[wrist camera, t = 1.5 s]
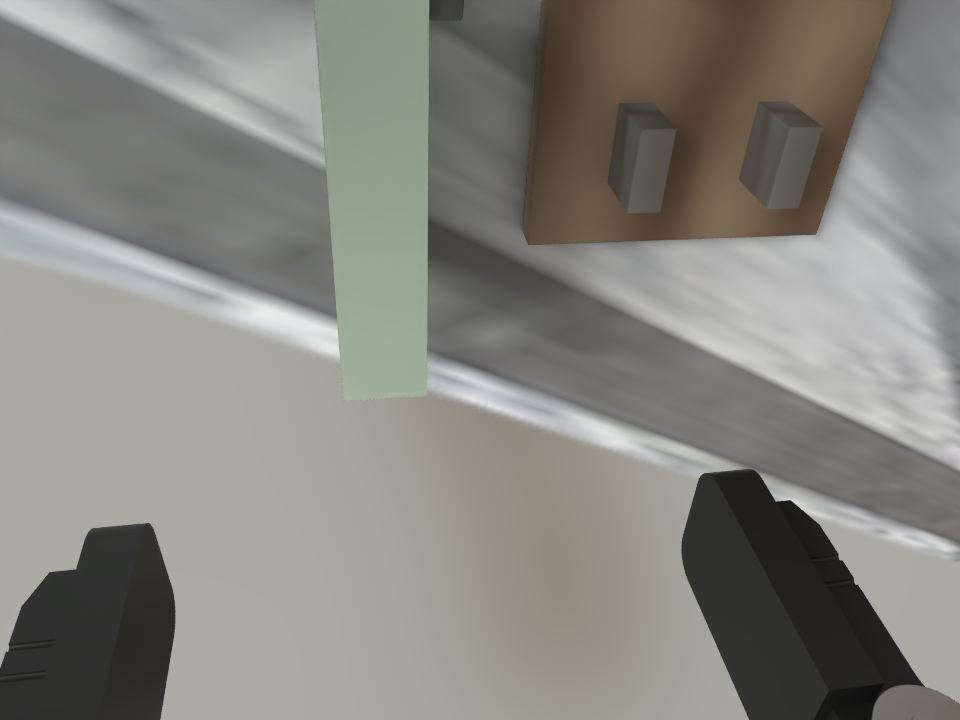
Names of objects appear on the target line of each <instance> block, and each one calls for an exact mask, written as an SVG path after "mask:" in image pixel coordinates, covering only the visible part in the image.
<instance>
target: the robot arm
mask: <svg viewBox="0 0 960 720" xmlns="http://www.w3.org/2000/svg"><path fill="white" fill-rule="evenodd" d="M682 560H683V565H684V570H685V573H686V576H687V579H688V582H689V584H690V586H691V588H692V590H693V593H694V595H695V597H696V600H697V602H698V604H699V606H700V609H701V611H702V613H703V616H704V618H705V620H706V622H707V624H708V627H709V629H710V631H711V634H712V636H713V638H714V640H715V643H716V645H717V647H718V650H719V652H720V654H721V656H722V659H723V661H724V663H725V665H726V668H727V670H728V672H729V674H730V677H731V679H732V681H733V683H734V686H735V688H736V691H737V693H738V695H739V697H740V700H741V702H742V704H743V706H744V709H745V711H746V713H747V716H748V718H749V720H960V704H959V703H957V702H956V701H955V700H953V699H951V698H950V697H948V696H946V695H944V694H942V693H940V692H938V691H935V690H933V689H930V688H926V687H925V686H924V685H923V684H922V683H921V681H920V680H919V679H918V677H917V676H916V675H915V673H914V671H913V670H912V668H911V667H910V665H909V664H908V662H907V661H906V659H905V658H904V656H903V654H902V653H901V651H900V650H899V648H898V647H897V645H896V644H895V642H894V640H893V639H892V637H891V636H890V634H889V633H888V631H887V629H886V628H885V626H884V625H883V623H882V621H881V620H880V618H879V617H878V615H877V614H876V612H875V611H874V609H873V608H872V606H871V604H870V603H869V601H868V600H867V598H866V597H865V595H864V593H863V592H862V590H861V589H860V588H859V586H858V585H855V583H854V578H853V576H852V575H851V573H850V571H849V570H848V568H847V567H846V565H845V564H844V562H843V561H840V560H839V557H838V553H837V551H836V550H835V548H834V546H833V545H832V543H831V542H830V540H829V539H828V537H827V536H826V534H825V533H824V531H823V529H822V528H821V526H820V525H819V524H818V523H817V522H816V521H814V520H813V519H812V518H811V517H810V516H809V515H807V514H806V513H805V512H804V511H803V510H801V509H800V508H799V507H798V506H797V505H795V504H794V503H793V502H792V501H791V500H789V501H779V502H776V501H775V500H774V498H773V496H772V495H771V493H770V491H769V490H768V488H767V486H766V485H765V483H764V481H763V480H762V478H761V477H760V475H759V474H758V473H757V472H756V471H754V470H752V469H745V470H734V471H723V472H713V473H704V474H702V475H701V477H700V478H699V481H698V484H697V487H696V491H695V494H694V498H693V502H692V505H691V509H690V513H689V516H688V520H687V523H686V527H685V530H684V534H683V538H682ZM174 632H175V600H174V594H173V590H172V586H171V583H170V580H169V576H168V573H167V570H166V567H165V564H164V561H163V557H162V554H161V551H160V548H159V545H158V542H157V538H156V535H155V532H154V529H153V527H152V526H151V525H150V524H149V523H145V524H134V525H123V526H112V527H102V528H93V529H91V530H90V531H89V532H88V534H87V536H86V538H85V541H84V545H83V548H82V552H81V555H80V558H79V562H78V565H77V569H76V570H67V571H58V572H57V571H56V572H49V574H48V575H47V576H46V577H45V579H44V580H43V581H42V582H41V583H40V585H39V586H38V587H37V589H36V590H35V591H34V592H33V593H32V594H31V596H30V597H29V598H28V600H27V601H26V602H25V603H24V604H23V606H22V607H21V610H20V613H19V616H18V619H17V621H16V624H15V627H14V630H13V633H12V636H11V639H10V642H9V651H8V652H6V653H5V657H4V659H3V662H2V665H1V668H0V720H160V718H161V712H162V705H163V700H164V694H165V688H166V681H167V675H168V669H169V663H170V657H171V651H172V645H173V639H174Z"/></svg>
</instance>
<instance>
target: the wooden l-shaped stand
mask: <svg viewBox="0 0 960 720" xmlns="http://www.w3.org/2000/svg"><path fill="white" fill-rule="evenodd" d="M892 3H893V0H542V3H541V15H540V27H539V38H538V50H537V62H536V74H535V86H534V97H533V109H532V121H531V133H530V145H529V156H528V168H527V180H526V192H525V203H524V215H523V227H522V231H523V233H524V236H525V238H526V241H527V243H528V245H541V244H569V243H596V242H624V241H651V240H679V239H706V238H734V237H761V236H789V235H816V233H817V230H818V227H819V224H820V221H821V218H822V215H823V212H824V209H825V206H826V203H827V200H828V197H829V194H830V191H831V188H832V185H833V182H834V179H835V176H836V173H837V170H838V167H839V164H840V161H841V158H842V155H843V152H844V149H845V146H846V143H847V139H848V136H849V133H850V130H851V127H852V124H853V121H854V118H855V115H856V112H857V109H858V106H859V103H860V100H861V97H862V94H863V91H864V88H865V85H866V82H867V79H868V76H869V73H870V70H871V67H872V64H873V61H874V58H875V55H876V52H877V49H878V46H879V43H880V40H881V37H882V33H883V30H884V27H885V24H886V21H887V18H888V15H889V12H890V9H891V6H892Z"/></svg>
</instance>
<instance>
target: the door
mask: <svg viewBox="0 0 960 720" xmlns="http://www.w3.org/2000/svg"><path fill="white" fill-rule="evenodd" d="M463 6H464V0H314V13H315V26H316V39H317V53H318V66H319V80H320V93H321V107H322V120H323V134H324V147H325V160H326V174H327V187H328V201H329V214H330V228H331V241H332V255H333V268H334V281H335V295H336V308H337V322H338V335H339V349H340V362H341V375H342V389H343V401H355V400H371V399H386V398H401V397H418V396H427V279H428V121H429V20H461V19H462V14H463Z"/></svg>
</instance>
